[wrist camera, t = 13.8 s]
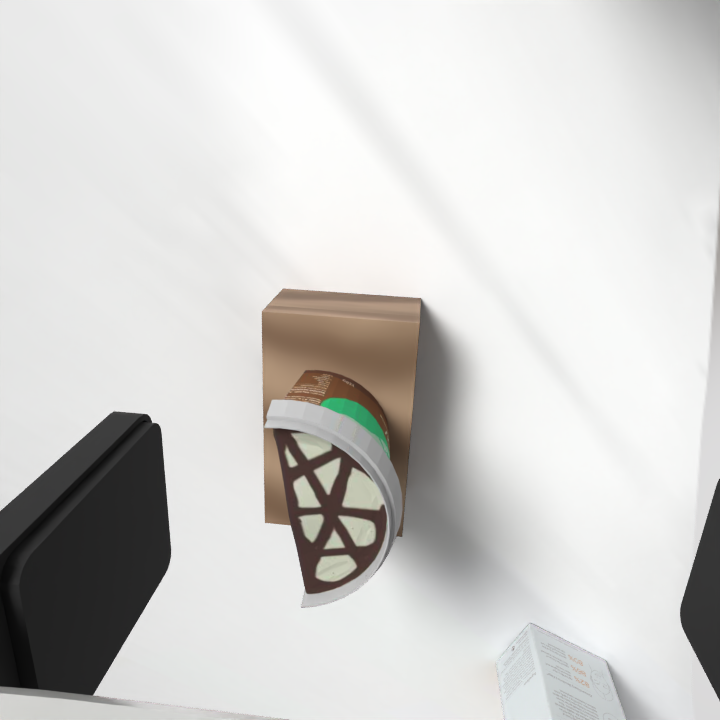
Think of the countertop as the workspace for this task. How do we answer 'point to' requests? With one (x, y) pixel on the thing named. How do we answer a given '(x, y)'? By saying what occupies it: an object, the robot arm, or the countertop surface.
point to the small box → (555, 681)
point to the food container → (336, 482)
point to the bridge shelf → (340, 365)
